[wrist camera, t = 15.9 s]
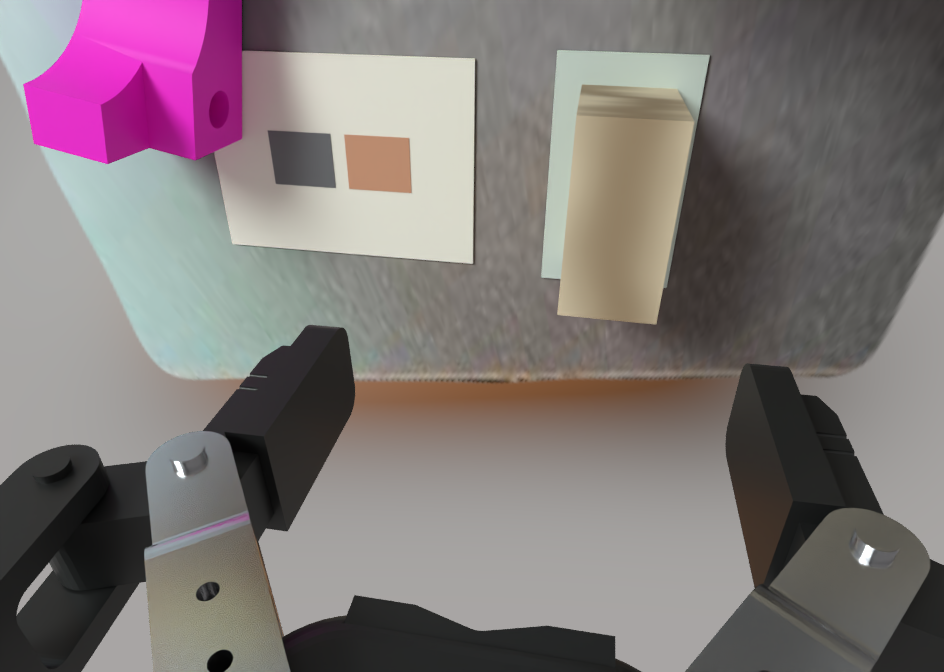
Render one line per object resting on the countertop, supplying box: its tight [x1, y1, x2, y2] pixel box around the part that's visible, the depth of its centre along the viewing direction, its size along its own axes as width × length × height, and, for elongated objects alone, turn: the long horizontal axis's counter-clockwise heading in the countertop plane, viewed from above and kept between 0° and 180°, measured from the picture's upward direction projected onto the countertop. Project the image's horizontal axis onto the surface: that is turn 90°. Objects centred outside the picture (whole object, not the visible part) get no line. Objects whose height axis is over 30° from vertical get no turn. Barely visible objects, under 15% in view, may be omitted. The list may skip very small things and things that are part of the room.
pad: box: [541, 50, 710, 288], centre depth 33 cm, size 12×7×1 cm, turn 179°
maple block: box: [557, 84, 694, 324], centre depth 30 cm, size 4×9×7 cm, turn 179°
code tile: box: [214, 50, 475, 264], centre depth 35 cm, size 11×15×1 cm
